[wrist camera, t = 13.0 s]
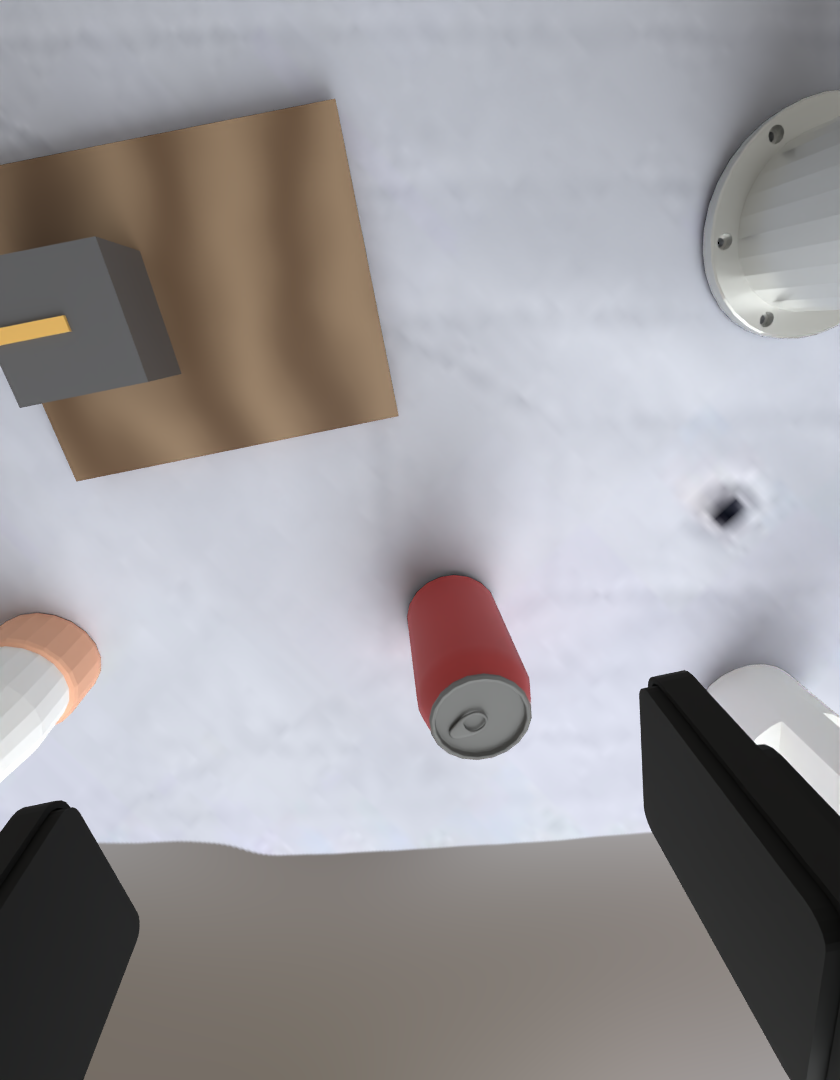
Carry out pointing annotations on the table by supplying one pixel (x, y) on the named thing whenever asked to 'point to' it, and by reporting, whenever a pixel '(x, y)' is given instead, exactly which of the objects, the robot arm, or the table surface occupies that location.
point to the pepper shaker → (40, 681)
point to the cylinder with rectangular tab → (785, 723)
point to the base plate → (219, 284)
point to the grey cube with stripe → (79, 321)
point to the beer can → (467, 669)
